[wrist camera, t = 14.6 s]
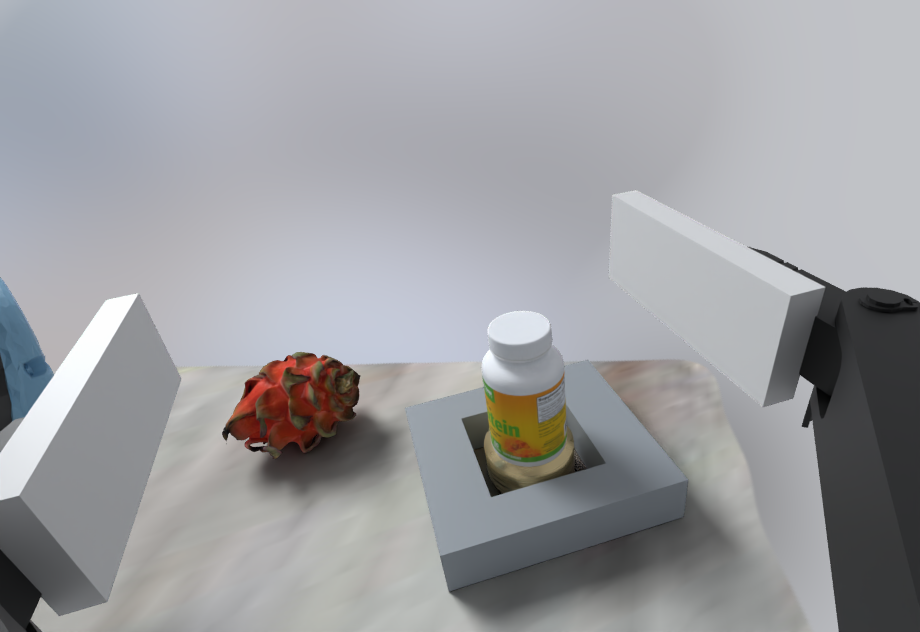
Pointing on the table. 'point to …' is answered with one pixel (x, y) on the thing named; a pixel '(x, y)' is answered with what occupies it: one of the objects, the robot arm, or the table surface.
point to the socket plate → (547, 503)
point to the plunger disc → (518, 476)
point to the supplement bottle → (524, 390)
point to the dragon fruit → (294, 403)
